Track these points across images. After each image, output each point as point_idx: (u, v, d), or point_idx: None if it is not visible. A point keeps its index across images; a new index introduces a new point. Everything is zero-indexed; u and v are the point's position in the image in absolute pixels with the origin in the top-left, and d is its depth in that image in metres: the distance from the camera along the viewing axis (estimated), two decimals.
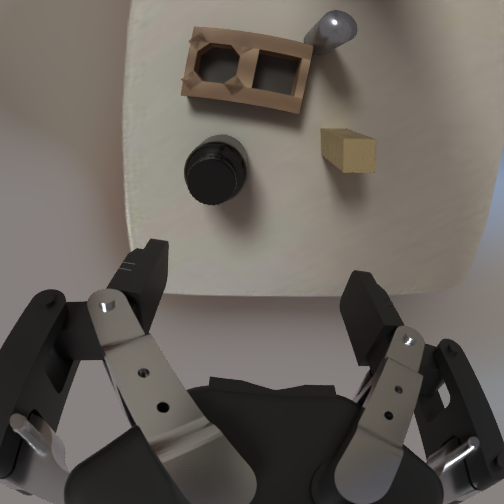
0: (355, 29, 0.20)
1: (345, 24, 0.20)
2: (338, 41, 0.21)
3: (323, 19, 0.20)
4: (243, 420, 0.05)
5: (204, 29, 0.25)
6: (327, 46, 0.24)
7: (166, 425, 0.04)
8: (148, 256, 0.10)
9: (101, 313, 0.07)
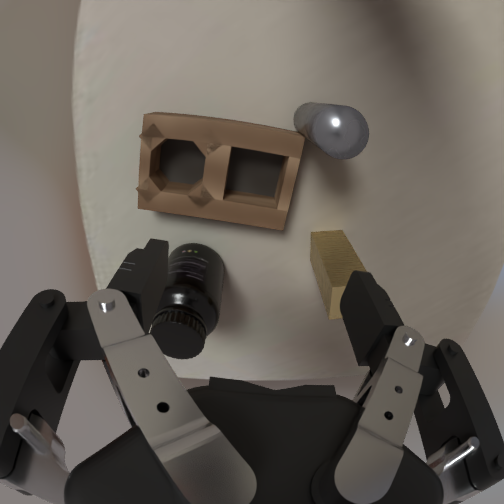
0: (366, 136, 0.17)
1: (352, 129, 0.17)
2: None
3: (318, 123, 0.17)
4: (243, 420, 0.05)
5: (157, 118, 0.22)
6: None
7: (166, 424, 0.04)
8: (148, 256, 0.10)
9: (101, 313, 0.07)
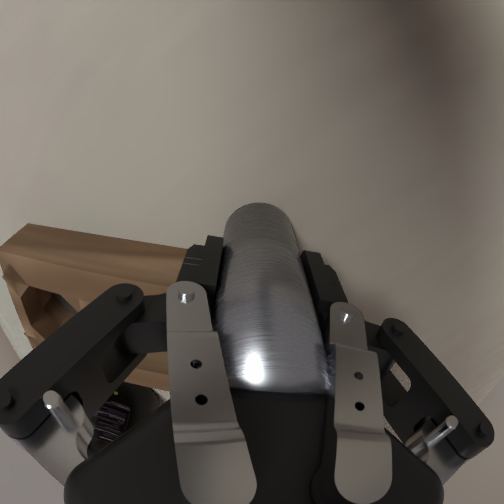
0: None
1: None
2: None
3: None
4: (243, 420, 0.05)
5: (11, 257, 0.12)
6: None
7: (197, 415, 0.05)
8: (211, 251, 0.11)
9: (185, 304, 0.08)
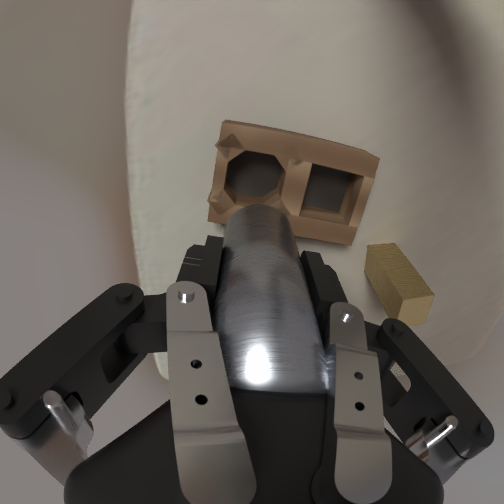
0: None
1: None
2: None
3: None
4: (243, 420, 0.05)
5: (237, 128, 0.22)
6: None
7: (197, 416, 0.05)
8: (211, 251, 0.11)
9: (184, 304, 0.08)
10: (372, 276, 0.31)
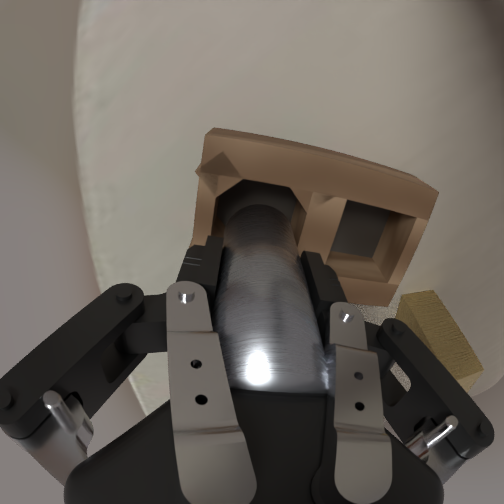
0: None
1: None
2: None
3: None
4: (243, 420, 0.05)
5: (229, 144, 0.14)
6: None
7: (197, 415, 0.05)
8: (211, 251, 0.11)
9: (184, 304, 0.08)
10: None
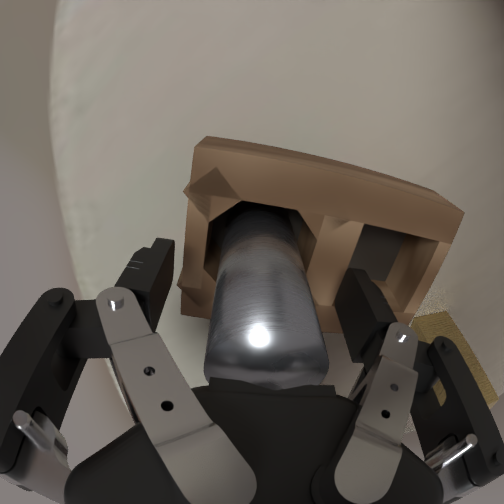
0: (322, 373, 0.08)
1: (288, 367, 0.08)
2: None
3: (207, 364, 0.08)
4: (243, 420, 0.05)
5: (224, 158, 0.11)
6: None
7: (170, 423, 0.04)
8: (155, 255, 0.10)
9: (110, 311, 0.07)
10: None
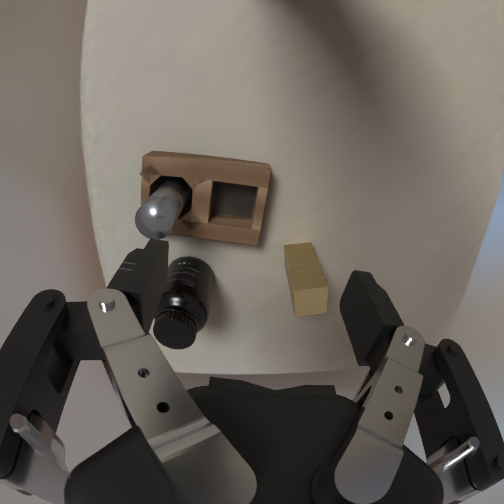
0: (170, 221, 0.25)
1: (158, 218, 0.25)
2: None
3: (136, 218, 0.25)
4: (243, 420, 0.05)
5: (153, 159, 0.29)
6: None
7: (166, 424, 0.04)
8: (148, 256, 0.10)
9: (101, 313, 0.07)
10: (287, 272, 0.37)
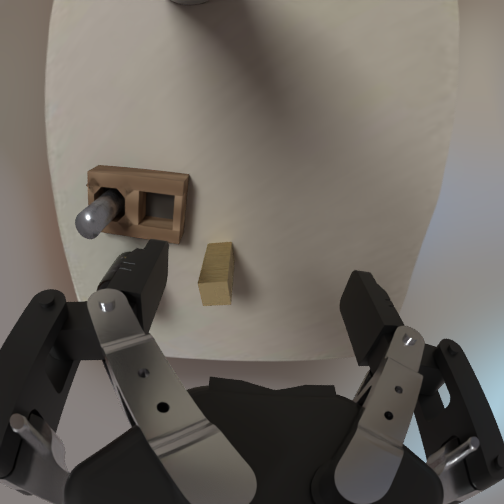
0: (98, 225, 0.30)
1: (90, 223, 0.30)
2: None
3: (76, 222, 0.30)
4: (243, 420, 0.05)
5: (95, 174, 0.34)
6: None
7: (166, 425, 0.04)
8: (148, 256, 0.10)
9: (101, 313, 0.07)
10: None
